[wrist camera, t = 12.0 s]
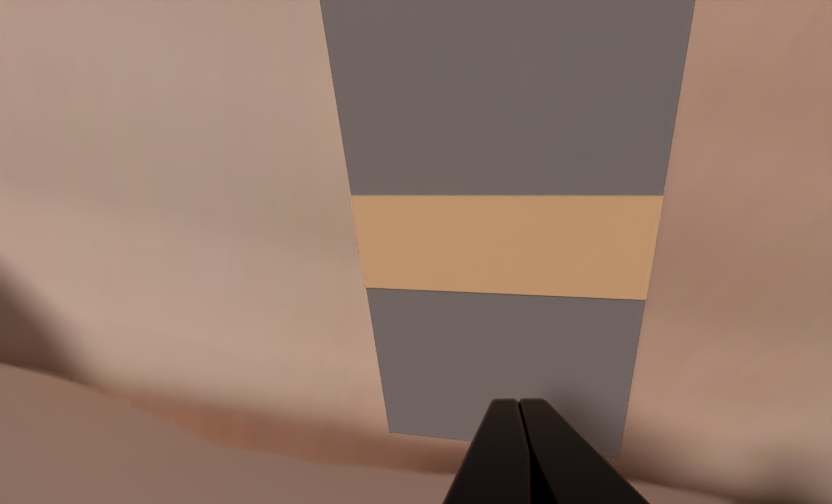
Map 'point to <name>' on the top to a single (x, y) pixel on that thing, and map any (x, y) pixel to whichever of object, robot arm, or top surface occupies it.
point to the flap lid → (507, 197)
